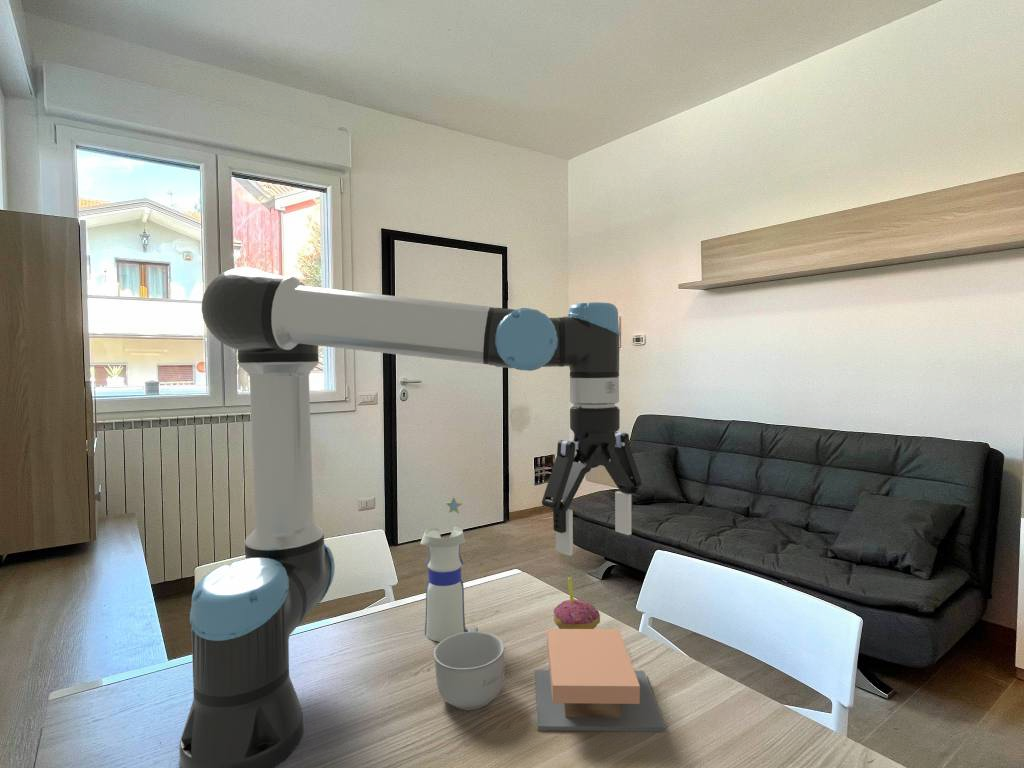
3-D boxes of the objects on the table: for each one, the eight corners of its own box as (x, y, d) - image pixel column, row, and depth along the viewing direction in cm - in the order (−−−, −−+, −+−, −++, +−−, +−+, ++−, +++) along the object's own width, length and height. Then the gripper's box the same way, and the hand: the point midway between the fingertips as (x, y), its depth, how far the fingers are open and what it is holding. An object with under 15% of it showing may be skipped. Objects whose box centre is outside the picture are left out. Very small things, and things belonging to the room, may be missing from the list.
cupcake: (543, 639, 103) (544, 575, 103) (574, 624, 109) (574, 564, 108) (578, 657, 97) (579, 590, 96) (609, 641, 103) (609, 577, 102)
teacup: (495, 724, 79) (495, 670, 79) (423, 715, 82) (423, 661, 81) (514, 670, 93) (514, 624, 93) (452, 663, 95) (452, 617, 95)
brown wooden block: (565, 717, 80) (565, 690, 80) (560, 677, 90) (560, 653, 90) (620, 717, 80) (621, 690, 80) (609, 677, 90) (609, 653, 90)
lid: (552, 703, 77) (552, 685, 77) (546, 643, 93) (546, 628, 93) (639, 703, 77) (639, 686, 77) (618, 643, 93) (618, 629, 93)
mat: (537, 730, 78) (537, 726, 78) (534, 673, 92) (534, 670, 92) (666, 731, 78) (666, 727, 78) (643, 674, 92) (643, 670, 92)
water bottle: (422, 621, 110) (421, 497, 109) (465, 619, 111) (465, 496, 110) (419, 643, 102) (418, 508, 101) (466, 641, 103) (466, 507, 101)
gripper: (553, 413, 74) (554, 570, 75) (663, 401, 90) (663, 530, 91) (516, 409, 80) (518, 555, 81) (626, 399, 96) (626, 520, 97)
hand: (595, 542), depth 86 cm, fingers open, 13 cm apart
